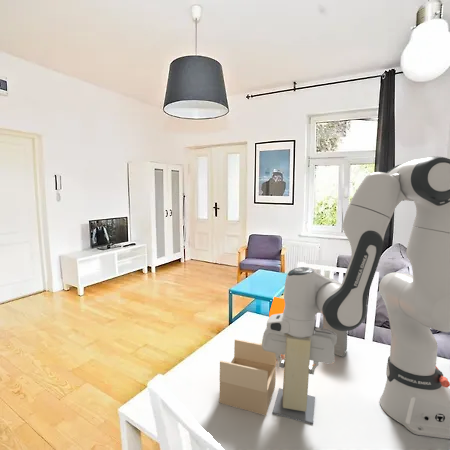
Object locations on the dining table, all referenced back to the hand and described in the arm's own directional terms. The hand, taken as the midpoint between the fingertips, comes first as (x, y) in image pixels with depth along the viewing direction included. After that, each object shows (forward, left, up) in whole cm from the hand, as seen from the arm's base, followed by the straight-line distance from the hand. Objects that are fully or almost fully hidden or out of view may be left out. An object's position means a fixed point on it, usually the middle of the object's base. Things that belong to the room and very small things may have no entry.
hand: (296, 369), depth 86 cm
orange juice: (+9, -33, -11) cm, 36 cm away
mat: (0, 0, -11) cm, 11 cm away
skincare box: (-11, -37, -11) cm, 40 cm away
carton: (+14, 0, -11) cm, 18 cm away
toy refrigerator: (0, 0, -10) cm, 10 cm away
